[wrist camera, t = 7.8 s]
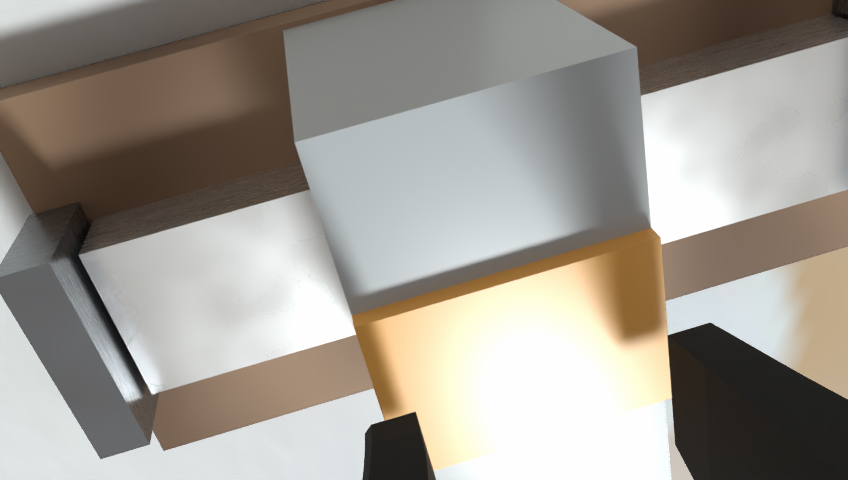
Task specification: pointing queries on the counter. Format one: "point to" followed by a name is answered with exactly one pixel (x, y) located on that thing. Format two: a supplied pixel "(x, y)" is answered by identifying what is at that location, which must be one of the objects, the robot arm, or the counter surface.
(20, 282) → the din rail
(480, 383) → the block
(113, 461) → the counter surface
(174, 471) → the counter surface
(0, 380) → the counter surface
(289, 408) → the mounting plate
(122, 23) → the counter surface
